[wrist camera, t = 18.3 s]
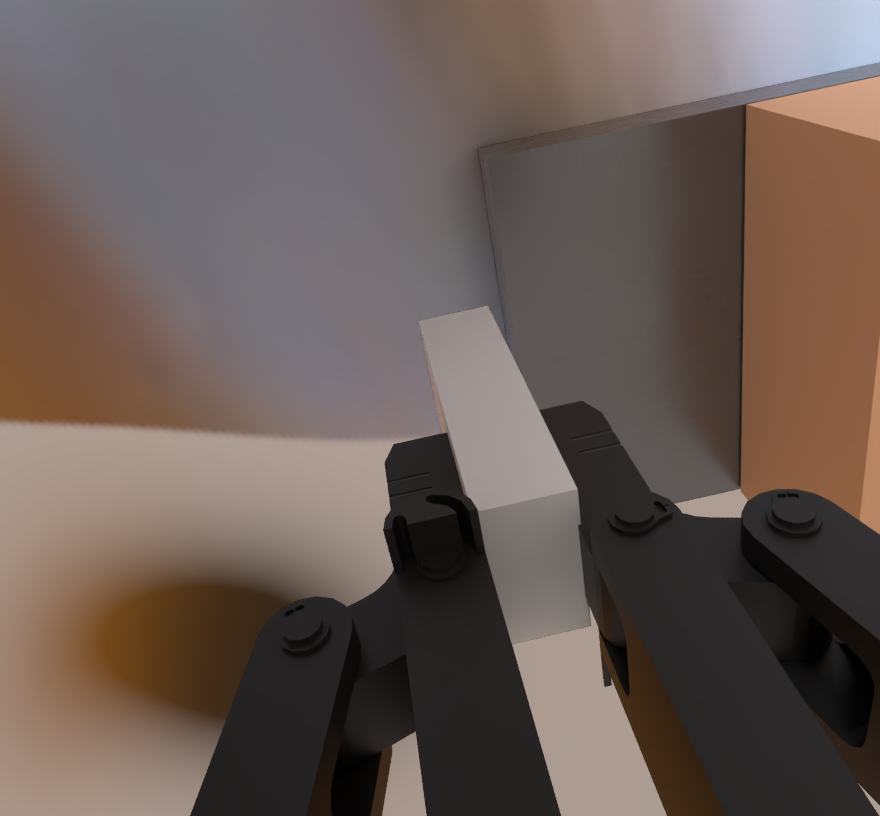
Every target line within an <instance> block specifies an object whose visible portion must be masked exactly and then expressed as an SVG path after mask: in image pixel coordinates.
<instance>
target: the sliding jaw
mask: <svg viewBox="0 0 880 816" xmlns="http://www.w3.org/2000/svg"><path fill="white" fill-rule="evenodd" d="M775 489H798V490H802V491H807V492H811V493H815V494H817V495H820V496H822V497H824V498H826V499H828V500H830V501H832V502H833V503H835V504H836V505H838V506H839V507H841V508H842V509H843V510H845V511H846V512H848V513H849V514H851V515H852V516H854V517H855V518H857V519H858V520H860V521H861V522H862V523H864V524H865V525H867V526H868V527H870V528H871V529H873V530H874V531H876V532H877V533H878V534H880V76H878V77H873V78H869V79H864V80H859V81H855V82H850V83H845V84H840V85H836V86H831V87H826V88H822V89H817V90H812V91H808V92H803V93H798V94H794V95H789V96H784V97H779V98H775V99H770V100H765V101H761V102H756V103H751V104H747V105H746V157H745V227H744V296H743V366H742V436H741V492H742V493H743V494H744V495H745V497H746V498H747V499H748V500H750V499H752V498H753V497H755V496H756V495H758V494H759V493H763V492H767V491H771V490H775Z"/></svg>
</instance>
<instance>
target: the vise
mask: <svg viewBox="0 0 880 816" xmlns="http://www.w3.org/2000/svg"><path fill="white" fill-rule="evenodd" d="M878 76H880V63H876V64H871V65H866V66H861V67H857V68H852V69H847V70H843V71H838V72H833V73H829V74H824V75H819V76H814V77H810V78H805V79H800V80H796V81H791V82H786V83H782V84H777V85H772V86H767V87H763V88H758V89H753V90H749V91H744V92H739V93H735V94H730V95H725V96H720V97H716V98H711V99H706V100H702V101H697V102H692V103H688V104H683V105H678V106H673V107H669V108H664V109H659V110H655V111H650V112H645V113H641V114H636V115H631V116H626V117H622V118H617V119H612V120H608V121H603V122H598V123H594V124H589V125H584V126H579V127H575V128H570V129H565V130H561V131H556V132H551V133H547V134H542V135H537V136H532V137H528V138H523V139H518V140H514V141H509V142H504V143H500V144H495V145H490V146H485V147H481V148H478V153H479V160H480V166H481V173H482V180H483V186H484V193H485V200H486V206H487V213H488V219H489V226H490V233H491V239H492V246H493V252H494V259H495V266H496V272H497V279H498V285H499V292H500V299H501V305H502V312H503V319H504V325H505V332H506V338H507V345H508V348H509V350H510V352H511V354H512V356H513V358H514V360H515V362H516V364H517V366H518V368H519V370H520V372H521V374H522V376H523V379H524V381H525V383H526V385H527V387H528V389H529V391H530V393H531V395H532V397H533V399H534V401H535V403H536V405H537V407H538V409H539V410H542V409H546V408H551V407H555V406H560V405H564V404H569V403H573V402H578V401H584V402H585V403H587V404H589V405H590V406H592V407H594V408H595V409H597V410H599V411H600V412H602V413H603V415H604V417H605V418H606V420H607V421H608V423H609V425H610V426H611V428H612V431H613V432H614V433H615V434H616V436H617V437H618V439H619V441H620V443H621V446H622V445H623V447H624V449H625V450H626V452H627V453H628V455H629V457H630V458H631V460H632V461H633V463H634V465H635V466H636V468H637V469H638V471H639V473H640V474H641V476H642V477H643V479H644V481H645V482H646V484H647V485H648V487H649V489H650V490H651V492H654V493H656V494H659V495H661V496H663V497H666V498H668V499H670V500H671V501H672V502H673V503H678V502H683V501H688V500H692V499H696V498H701V497H706V496H710V495H715V494H719V493H723V492H728V491H733V490H736V489H741V436H742V366H743V296H744V227H745V157H746V105H747V104H751V103H756V102H761V101H765V100H770V99H775V98H779V97H784V96H789V95H794V94H798V93H803V92H808V91H812V90H817V89H822V88H826V87H831V86H836V85H840V84H845V83H850V82H855V81H859V80H864V79H869V78H873V77H878Z"/></svg>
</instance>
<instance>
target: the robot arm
mask: <svg viewBox="0 0 880 816" xmlns="http://www.w3.org/2000/svg"><path fill="white" fill-rule="evenodd" d="M419 326H420V331H421V335H422V340H423V345H424V350H425V355H426V360H427V365H428V369H429V374H430V379H431V384H432V389H433V394H434V399H435V403H436V408H437V413H438V418H439V423H440V428H441V432H442V434H438V435H433V436H429V437H424V438H420V439H415V440H411V441H406V442H402V443H397V444H394V445H393V447H392V449H391V451H390V453H389V455H388V457H387V459H386V461H385V469H386V477H387V483H388V492H389V497H390V507H391V511H390V512H389V514H388V515H387V516H386V518H385V523H384V529H383V531H384V535H385V538H386V542H387V545H388V549H389V552H390V556H391V560H392V563H393V567H394V570H393V572H392V574H391V575H390V577H389V578H388V579H387V581H386V582H385V583H384V584H383V585H382V586H381V587H380V588H379V589H378V590H377V591H375V592H374V593H372V594H370V595H369V596H367V597H365V598H364V599H362V600H360V601H358V602H356V603H354V604H352V605H350V606H348V607H346V606H345V605H344V604H342V603H340V602H338V601H336V600H334V599H333V598H325V597H311V598H306V599H301V600H297V601H295V602H293V603H291V604H289V605H287V606H285V607H283V608H281V609H280V610H279V611H278V612H276V613H275V614H274V615H273V616H272V617H271V618H269V619H268V620H267V622H266V623H265V625H264V626H263V628H262V630H261V631H260V633H259V635H258V637H257V640H256V643H255V645H254V648H253V650H252V653H251V656H250V658H249V661H248V664H247V666H246V669H245V672H244V674H243V677H242V680H241V682H240V685H239V687H238V690H237V693H236V695H235V698H234V701H233V703H232V706H231V709H230V711H229V714H228V717H227V719H226V722H225V725H224V728H223V730H222V733H221V735H220V738H219V741H218V743H217V746H216V749H215V751H214V754H213V757H212V759H211V762H210V765H209V767H208V770H207V773H206V775H205V778H204V780H203V783H202V786H201V788H200V791H199V794H198V796H197V799H196V802H195V804H194V807H193V810H192V812H191V815H190V816H382V811H383V805H384V799H385V793H386V787H387V781H388V775H389V769H390V763H391V756H392V745H393V744H394V743H396V742H398V741H400V740H401V739H403V738H405V737H406V736H408V735H410V734H412V733H414V732H415V731H416V736H417V744H418V752H419V759H420V767H421V775H422V783H423V790H424V798H425V806H426V813H427V816H561V814H560V811H559V808H558V804H557V800H556V797H555V793H554V790H553V786H552V783H551V779H550V776H549V772H548V769H547V765H546V762H545V759H544V755H543V751H542V748H541V744H540V741H539V737H538V734H537V731H536V727H535V723H534V720H533V717H532V713H531V710H530V706H529V702H528V699H527V695H526V692H525V689H524V686H523V682H522V678H521V675H520V671H519V668H518V664H517V661H516V657H515V654H514V650H513V647H512V644H515V643H520V642H524V641H528V640H533V639H537V638H541V637H546V636H550V635H554V634H558V633H563V632H567V631H571V630H576V629H580V628H584V627H589V626H591V619H590V609H589V606H590V608H591V610H592V613H593V615H594V617H595V620H596V622H597V625H598V628H599V639H600V648H601V649H600V650H601V660H602V670H603V679H604V686H605V687H606V686H610V685H612V684H611V678H612V680H613V683H614V685H615V688H616V690H617V693H618V695H619V698H620V700H621V703H622V705H623V708H624V710H625V713H626V715H627V717H628V720H629V722H630V725H631V727H632V730H633V732H634V735H635V737H636V740H637V742H638V745H639V747H640V750H641V752H642V755H643V757H644V760H645V762H646V764H647V767H648V769H649V772H650V774H651V777H652V779H653V782H654V784H655V787H656V789H657V792H658V794H659V797H660V799H661V802H662V804H663V807H664V809H665V811H666V814H667V816H879V815H878V813H877V812H876V810H875V809H874V807H873V806H872V804H871V803H870V801H869V799H868V798H867V796H866V795H865V793H864V792H863V790H862V789H861V787H860V786H859V784H860V785H861V786H862V787H863V788H864V789H865V791H866V792H867V793H868V794H869V795H870V796H871V797H872V798H873V799H874V800H875V801H876V802H877V803H878V804H879V805H880V534H878V533H877V532H876V531H874V530H873V529H871V528H870V527H868V526H867V525H865V524H864V523H862V522H861V521H860V520H858V519H857V518H855V517H854V516H852V515H851V514H849V513H848V512H846V511H845V510H843V509H842V508H841V507H839V506H838V505H836V504H835V503H833V502H832V501H830V500H828V499H826V498H824V497H822V496H820V495H817V494H815V493H811V492H807V491H802V490H798V489H775V490H771V491H767V492H763V493H759V494H758V495H756V496H755V497H753V498H752V499H750V500H749V501H747V503H746V505H745V507H744V509H743V511H742V516H741V518H710V517H696V516H692V515H688V514H683V513H682V512H681V511H680V509H679V508H678V507H677V506H676V505H674V503H673V502H672V501H671V500H670V499H668V498H666V497H663V496H661V495H659V494H656V493H654V492H651V490H650V489H649V487H648V485H647V484H646V482H645V481H644V479H643V477H642V476H641V474H640V473H639V471H638V469H637V468H636V466H635V465H634V463H633V461H632V460H631V458H630V457H629V455H628V453H627V452H626V450H625V449H624V447H623V445H622V446H621V443H620V441H619V439H618V437H617V436H616V434H615V433H614V432H613V431H612V428H611V426H610V425H609V423H608V421H607V420H606V418H605V417H604V415H603V413H602V412H600V411H599V410H597V409H595V408H594V407H592V406H590V405H589V404H587V403H585V402H584V401H578V402H573V403H569V404H564V405H560V406H555V407H551V408H546V409H542V410H539V409H538V407H537V405H536V403H535V401H534V399H533V397H532V395H531V393H530V391H529V389H528V387H527V385H526V383H525V381H524V379H523V376H522V374H521V372H520V370H519V368H518V366H517V364H516V362H515V360H514V358H513V356H512V354H511V352H510V350H509V348H508V346H507V344H506V342H505V340H504V338H503V336H502V334H501V332H500V329H499V327H498V325H497V323H496V321H495V319H494V317H493V315H492V313H491V311H490V309H489V307H488V306H484V307H479V308H475V309H470V310H465V311H461V312H456V313H452V314H447V315H442V316H438V317H433V318H429V319H424V320H419ZM857 782H858V783H859V784H858V783H857Z"/></svg>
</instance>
